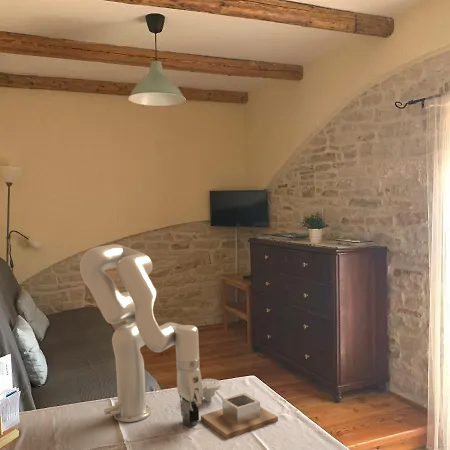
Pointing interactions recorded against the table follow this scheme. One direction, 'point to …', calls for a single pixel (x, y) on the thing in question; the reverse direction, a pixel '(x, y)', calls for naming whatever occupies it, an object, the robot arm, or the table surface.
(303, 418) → the table surface
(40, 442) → the table surface
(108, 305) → the robot arm
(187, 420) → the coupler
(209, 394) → the showerhead
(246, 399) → the board
